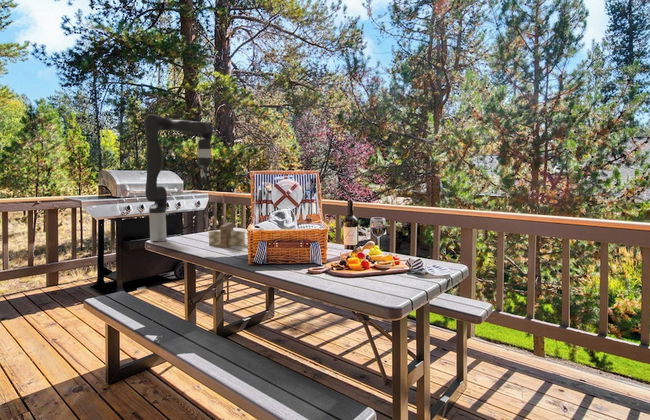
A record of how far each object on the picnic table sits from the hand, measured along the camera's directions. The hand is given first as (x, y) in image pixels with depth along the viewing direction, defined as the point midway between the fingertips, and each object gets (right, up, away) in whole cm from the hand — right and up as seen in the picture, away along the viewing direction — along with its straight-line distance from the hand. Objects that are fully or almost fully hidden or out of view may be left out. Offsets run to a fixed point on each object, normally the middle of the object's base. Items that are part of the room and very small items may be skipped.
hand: (205, 185), depth 246 cm
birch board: (+14, -35, -5) cm, 38 cm away
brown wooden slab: (+14, -35, -4) cm, 38 cm away
